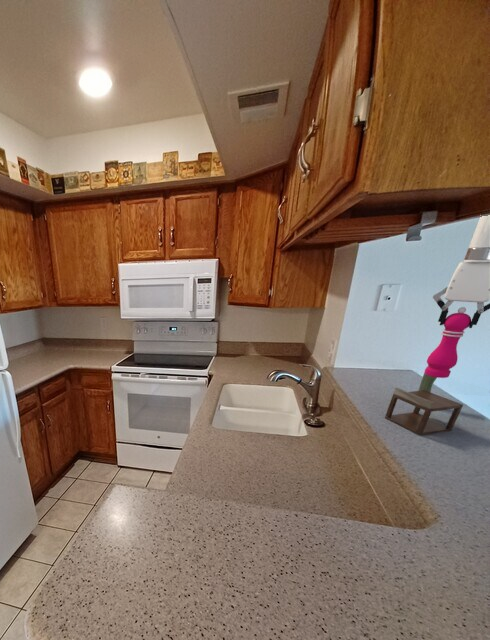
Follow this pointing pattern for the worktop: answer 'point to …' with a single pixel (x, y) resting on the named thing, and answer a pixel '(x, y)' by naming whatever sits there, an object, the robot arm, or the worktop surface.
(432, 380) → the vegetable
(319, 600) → the worktop surface
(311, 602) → the worktop surface
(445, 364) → the pepper mill
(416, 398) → the shelf
